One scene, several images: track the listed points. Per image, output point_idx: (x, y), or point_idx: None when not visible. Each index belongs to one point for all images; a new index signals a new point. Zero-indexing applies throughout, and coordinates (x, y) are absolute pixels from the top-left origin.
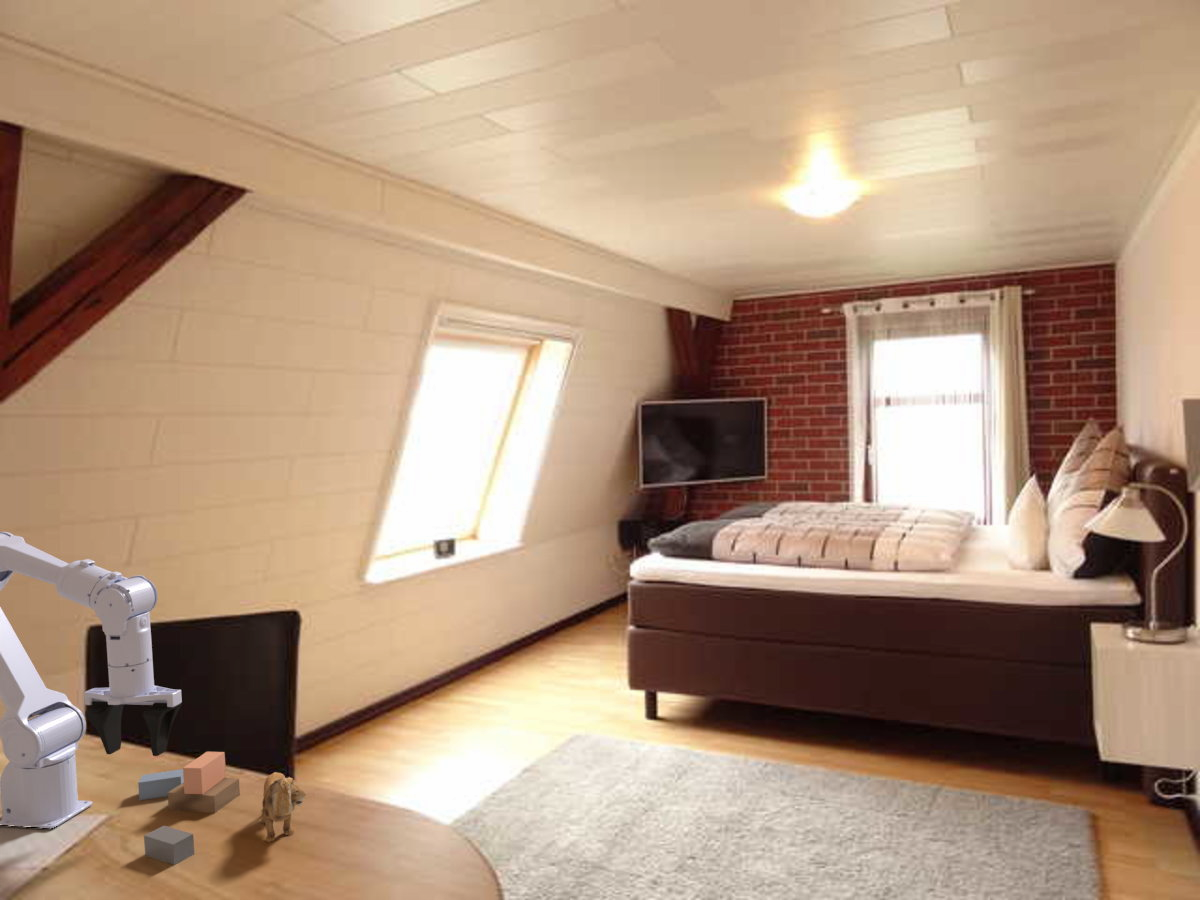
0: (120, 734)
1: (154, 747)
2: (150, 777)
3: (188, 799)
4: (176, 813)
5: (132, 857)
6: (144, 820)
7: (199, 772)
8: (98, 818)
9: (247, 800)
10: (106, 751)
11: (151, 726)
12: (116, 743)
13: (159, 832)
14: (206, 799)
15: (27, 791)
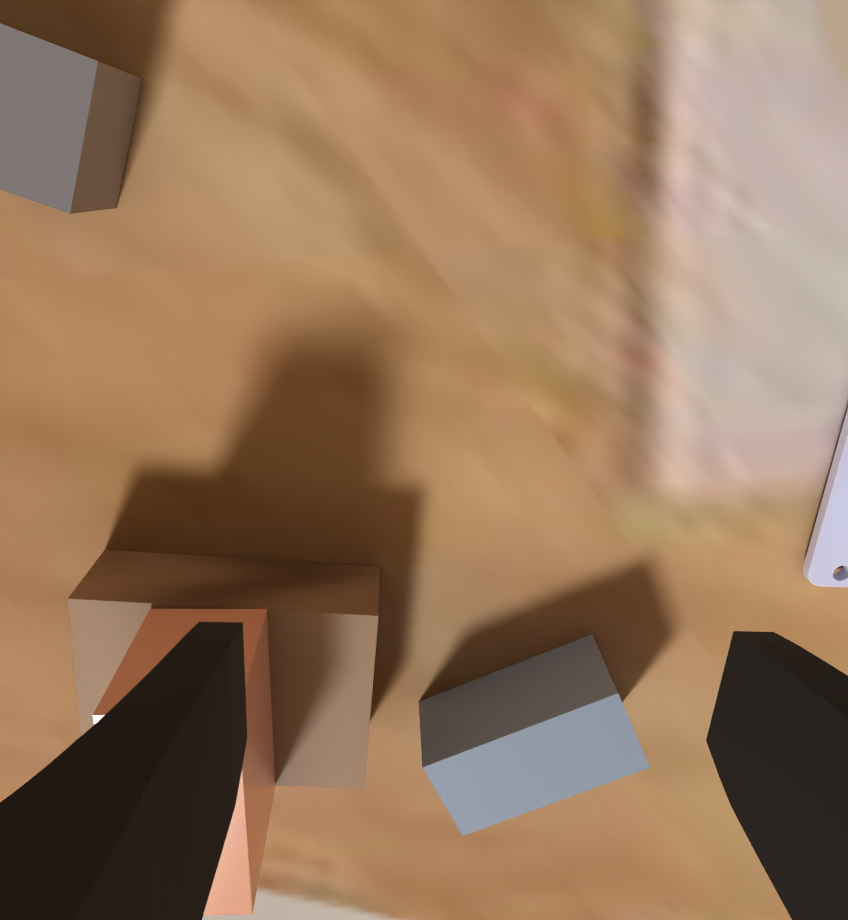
0: (773, 875)
1: (171, 666)
2: (585, 746)
3: (248, 590)
4: (308, 531)
5: (203, 50)
6: (429, 454)
7: (117, 694)
8: (691, 456)
9: (34, 670)
10: (786, 643)
11: (8, 887)
12: (748, 758)
13: (23, 114)
14: (130, 589)
15: None
